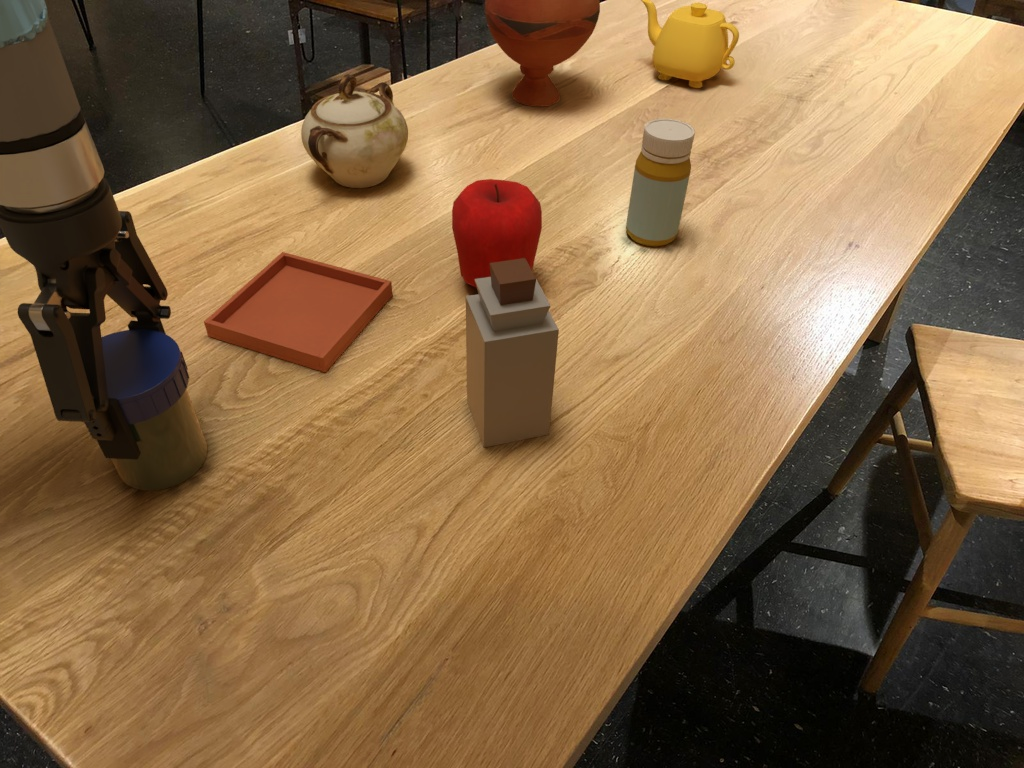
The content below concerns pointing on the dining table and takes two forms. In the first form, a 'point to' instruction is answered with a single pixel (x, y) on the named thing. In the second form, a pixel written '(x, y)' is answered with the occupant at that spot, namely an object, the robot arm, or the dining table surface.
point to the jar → (165, 449)
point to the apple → (495, 226)
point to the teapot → (691, 43)
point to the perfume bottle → (510, 355)
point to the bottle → (660, 182)
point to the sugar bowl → (355, 134)
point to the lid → (143, 372)
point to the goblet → (540, 39)
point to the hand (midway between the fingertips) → (145, 414)
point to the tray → (300, 311)
